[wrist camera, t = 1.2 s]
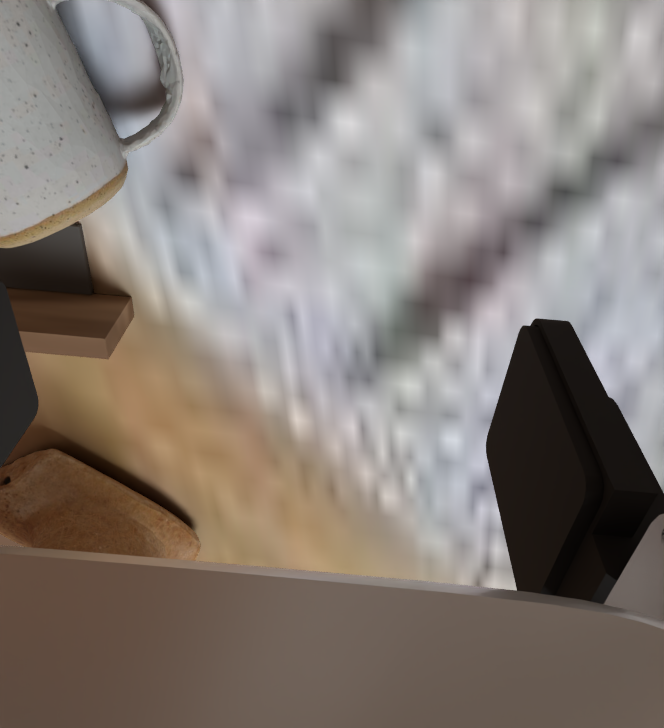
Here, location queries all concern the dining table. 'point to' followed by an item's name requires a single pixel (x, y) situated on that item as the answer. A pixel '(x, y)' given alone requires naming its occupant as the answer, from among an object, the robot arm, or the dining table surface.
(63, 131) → the ceramic mug
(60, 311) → the trap box
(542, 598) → the robot arm
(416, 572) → the dining table surface
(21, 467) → the tan boot
